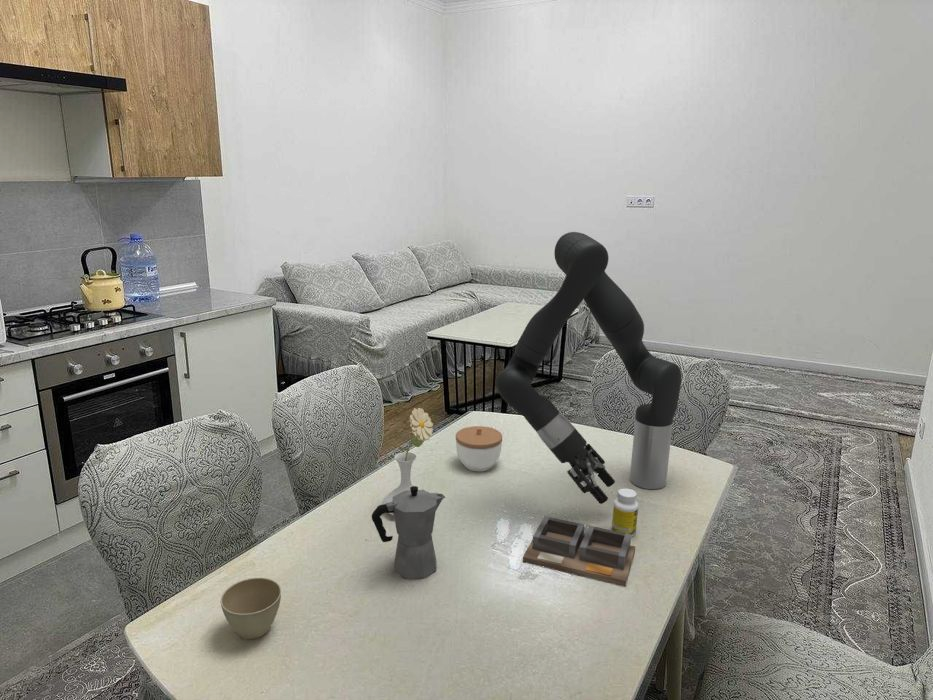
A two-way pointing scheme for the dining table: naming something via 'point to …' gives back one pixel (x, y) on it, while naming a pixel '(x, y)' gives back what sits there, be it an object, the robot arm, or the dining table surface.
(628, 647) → the dining table surface
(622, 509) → the supplement bottle
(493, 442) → the lidded bowl
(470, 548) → the dining table surface
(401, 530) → the coffeepot
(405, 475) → the flower in vase
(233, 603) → the beige bowl
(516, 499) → the dining table surface
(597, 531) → the socket board
